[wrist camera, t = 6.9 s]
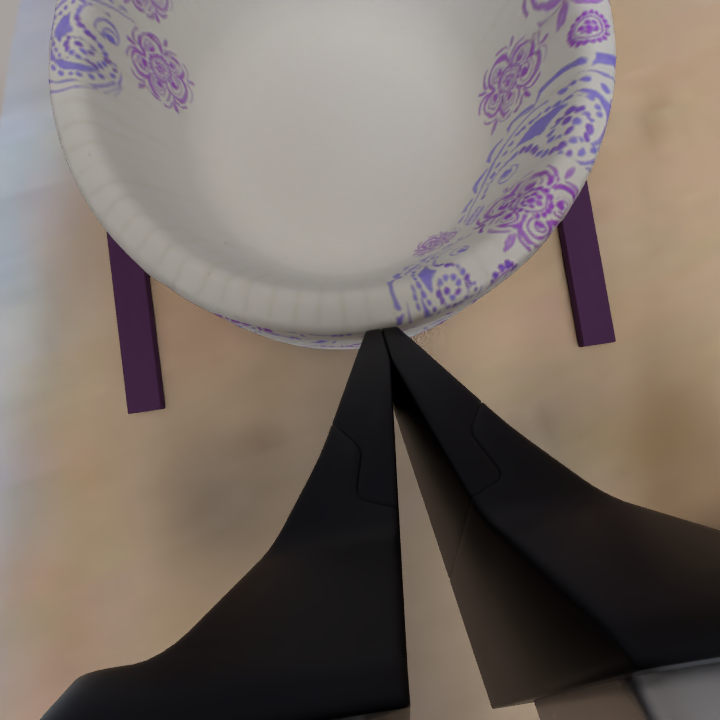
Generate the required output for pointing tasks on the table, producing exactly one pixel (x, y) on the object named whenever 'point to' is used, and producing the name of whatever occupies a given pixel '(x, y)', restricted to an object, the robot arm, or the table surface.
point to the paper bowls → (331, 148)
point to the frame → (141, 332)
